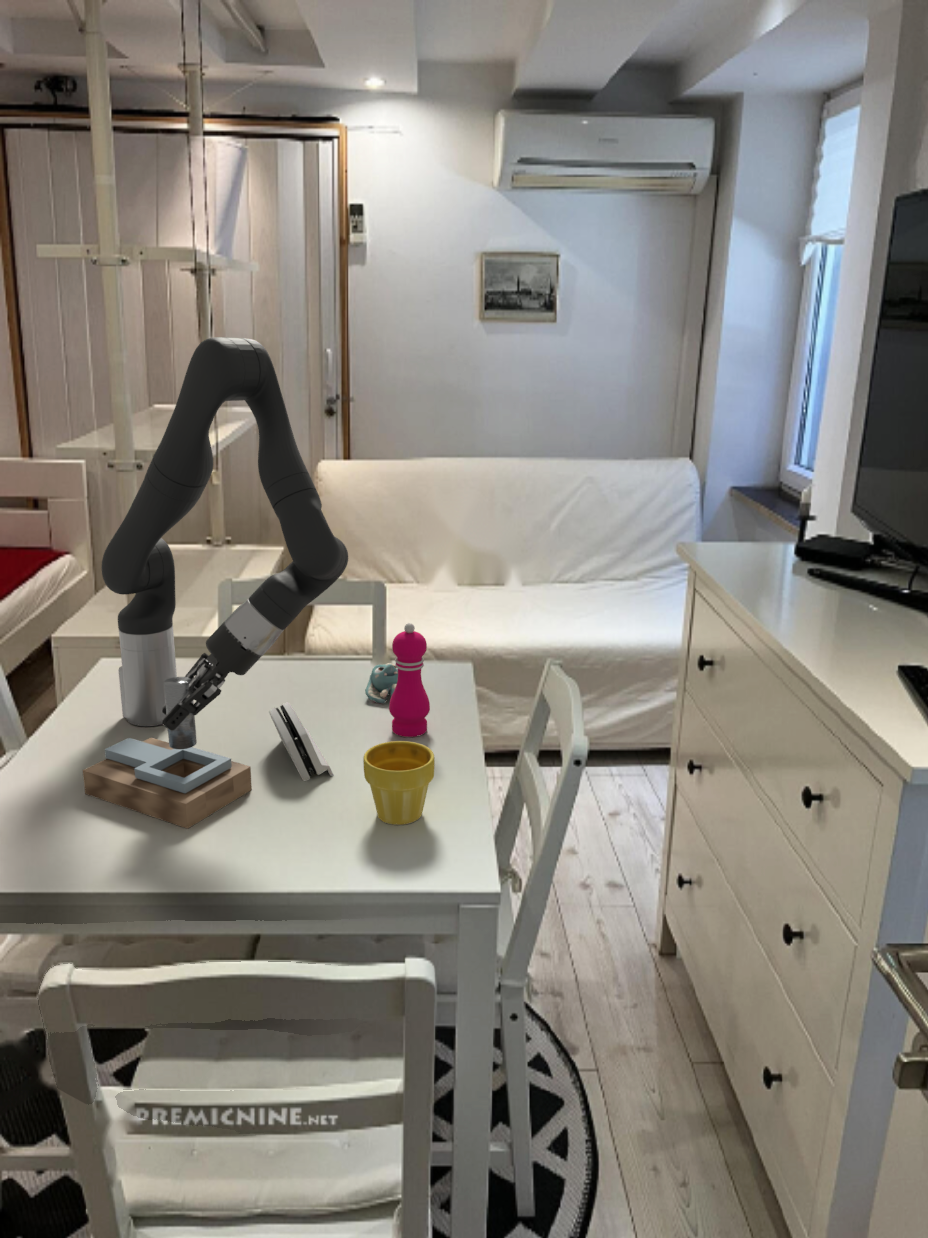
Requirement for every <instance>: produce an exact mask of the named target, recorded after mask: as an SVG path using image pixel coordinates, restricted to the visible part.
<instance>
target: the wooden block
mask: <svg viewBox="0 0 928 1238" xmlns="http://www.w3.org/2000/svg"><path fill="white" fill-rule="evenodd" d="M142 742H145V743H148V744H152V745H155V746H159V747H162V748H165V749H169V750H172V749H173V748H171V747H170V746H169V741H165V740H160V739H158V738H154V737H149V738H146V739H145V740H143V741H142ZM231 764H232V767H231V768H230V769H228V770H226V771H224V772H223V773H221V774H219V775H217V776H215V777H214V778H212V779H210V780H208V781H207V782H205V783H203V784H201V785H199V786H198V787H196V788H194V789H192V790H191V791H189V792H187V793H182V792H179V791H176V790H172V789H169V788H166V787H163V786H160V785H157V784H154V783H151V782H147V781H144V780H141V779H138V778H135V770H134V768H136V767H133V766H129V765H126V764H123V763H120V762H117V761H113V760H110V759H107V758H105V759H103V760H101V761H99V762H97V763H95V764H93V765H91V766H89V767H86V768H84V769H82V778H83V779H82V780H83V786H84V794H85V795H88V796H91V797H94V798H96V799H99V800H102V801H106V802H108V803H110V804H114V805H117V806H120V807H123V808H126V809H128V810H132V811H135V812H137V813H140V814H144V815H146V816H149V817H153V818H156V819H157V820H161V821H164V822H166V823H167V822H168V823H170V824H173V825H175V826H179V827H181V828H185V829H187V830H188V829H190V828H191V827H193V826H194V825H196V824H198V823H199V822H201V821H202V820H204V819H206V818H208V817H209V816H211V815H213V814H214V813H216V812H217V811H220V810H221V809H222V808H224V807H226V806H227V805H229V804H231V803H232V802H234V801H236V800H237V799H239V798H241V797H242V796H244V795H246V794H247V793H249V792H251V791H252V790H253V789H252V787H253V786H252V773H251V772H252V770H251V769H252V768H251V766H250V765H248V764H247V765H246V764H243V763H240V762H236V761H234V760H233V761H232V760H231ZM205 766H206V765H203V764H200V763H196V762H193V761H190V760H186V759H182V760H180V761H178V762H176V763H174V764H172V765H170V766H168V767H166V768H164V769H163V770H161V771H164V772H167V773H170V774H173V775H177V776H180V777H183V778H185V777H186V776H188V775H190V774H192V773H194V772H196V771H198V770H199V769H201V768H203V767H205Z"/></svg>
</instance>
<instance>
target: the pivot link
mask: <svg viewBox="0 0 928 1238" xmlns="http://www.w3.org/2000/svg"><path fill="white" fill-rule="evenodd" d="M104 755H105V759H110V760H113V761H117V762H120V763H123V764H126V765H129V766H133V767H136V768H134V770H135V778H138V779H141V780H144V781H147V782H151V783H154V784H157V785H160V786H163V787H166V788H169V789H172V790H176V791H179V792H182V793H187V792H189V791H191V790H192V789H194V788H196V787H198V786H199V785H201V784H203V783H205V782H207V781H208V780H210V779H212V778H214V777H215V776H217V775H219V774H221V773H223V772H224V771H226V770H228V769H230V768H231V767H232V764H231V761H232V758H231V757H228V756H227V757H226V756H224V755H221V754H218V753H214V752H210V751H206V750H204V749H200V748H197V747H194V746H193V747H191V748H187V749H172V750H169V749H165V748H162V747H159V746H155V745H152V744H148V743H145V742H143V741H141V740H138V739H134V738H132V737H128V738H125V739H124V740H121V741H119V742H117V743H115V744H113V745H110V746H108V747H106V748H104ZM182 759H186V760H190V761H193V762H196V763H200V764H203V765H206V766H205V767H203V768H201V769H199V770H198V771H196V772H194V773H192V774H190V775H188V776H186V777H185V778H183V777H180V776H177V775H173V774H170V773H167V772H164V771H161V770H163V769H164V768H166V767H168V766H170V765H172V764H174V763H176V762H178V761H180V760H182Z"/></svg>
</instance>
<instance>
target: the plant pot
mask: <svg viewBox="0 0 928 1238" xmlns="http://www.w3.org/2000/svg"><path fill="white" fill-rule="evenodd" d="M362 758H363V760H362V761H363V762H362V763H363V774H364V775H363V776H364V778H365V781H366V782H367V784H369V786H370V787H369V788H370V791H371V794H372V799H373V801H374V803H373V804H374V806H375V807H374V808H375V810H376V815H377V817H378V819H379V820H380V821H381V822H383V823H385V824H388V825H394V826H403V825H409V824H412V823H414V822H416V821H418V820H419V819H420V818H421V816H422V815H423V811H424V807H425V803H426V797H427V793H428V789H429V785H430V783H431V782H432V780H433V779H434V777H435V765H436V764H435V761H436V760H435V754H434V751H433V750H432V749H431V748H430V747H428V746H427V745H425V744H422V743H419V742H415V741H407V740H396V741H395V740H393V741H386V742H382V743H377V744H376V745H374V746H371V747H370V748H368V750H366V751H365V753H364V755H363V757H362Z"/></svg>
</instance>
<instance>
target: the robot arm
mask: <svg viewBox="0 0 928 1238" xmlns="http://www.w3.org/2000/svg"><path fill="white" fill-rule="evenodd" d="M179 391H180V392H179V394H178V395H179V396H178V397H177V400H176V404H175V406H174V409H173V412H172V414H171V417H170V419H169V421H168V424H167V426H166V429H165V431H164V434H163V436H162V439H161V440H160V443H159V444H158V446H157V448H156V450H155V452H154V454H153V456H152V459H151V460H150V463H149V466H148V467H147V470H146V472H145V475H144V478H143V479H142V480H143V481H142V482H141V485H140V486H139V488H138V491H137V492H136V495H135V497H134V498H133V501H132V503H131V506H130V508H129V509H128V511H127V513H126V515H125V517H124V518H123V520H122V521H121V523H120V525H119V527H118V528H117V530H116V532H115V533H114V535H113V537H112V538H111V539H110V542H109V543H108V544H107V546H106V548H105V550H104V553H103V556H102V560H101V568H100V569H101V576H102V580H103V582H104V585H106V587H107V588H108V589H109V590H110V591H112V592H114V593H115V594H118V595H121V596H122V595H133V594H134V596H133V598H132V600H131V601H130V602H129V603H127V605H126V606H124V607H123V608H122V609H121V610H120V611H119V613H118V615H117V628H118V636H119V637H118V638H119V648H120V657H121V666H119V667H118V679H119V691H120V700H121V711H122V717H123V718H125V719H126V721H127V722H128V723H129V724H132V725H135V726H139V727H154V726H161V725H163V726H164V727H165V728H167V730H168V729H170V730H175V729H176V728H177V727H178V726H179V725H180V723H181V722H182V721H183V720H184V719H185V718H186V717H187V716H188V715H189V714H193V715H194V716H195V717H196V715H198V714H199V713H200V712H201V711H202V710H203V709H205V708H206V707H207V706H208V705H210V703H211V702H213V701H214V700H215V699H216V698H217V697H219V696H220V695H221V693H222V689H221V688H222V686H223V685H224V684H225V682H226V678H227V676H228V674H231V673H234V674H235V675H238V676H245V675H246V674H247V673H248V671H250V669H252V667H254V665H255V664H256V663H257V662H258V661H259V660H260V659H261V658H262V657H263V655H264V654H266V653H267V651H268V650H270V648H271V647H272V646H273V645H275V643H276V641H277V640H278V639H279V637H280V636H281V634H282V633H283V632H284V630H285V629H287V628H288V626H289V625H290V624H292V622H293V621H294V620H296V618H298V616H299V615H300V613H301V612H302V611H303V610H304V609H305V608H306V607H307V606H308V605H310V603H311V602H313V601H314V600H316V598H318V597H319V596H321V595H322V594H323V593H324V592H325V591H326V590H328V589H330V587H331V586H333V584H335V582H337V580H339V578H340V577H341V575H343V573H344V572H345V570H346V568H347V566H348V562H349V553H348V552H349V551H348V548H347V546H346V545H345V543H344V542H343V541H342V540H341V539H339V538H338V537H337V536H335V535H334V534H333V531H332V530H331V528H330V526H329V524H328V522H327V519H326V517H325V515H324V513H323V511H322V507H323V505H322V500H321V497H320V495H319V493H318V490H317V488H316V486H315V483H314V481H313V479H312V477H311V475H310V473H309V471H308V469H307V467H306V464H305V462H304V460H303V458H302V455H301V453H300V451H299V448H298V446H297V441H296V439H295V436H294V433H293V429H292V426H291V422H290V418H289V415H288V411H287V407H286V405H285V404H286V403H285V401H284V398H283V394H282V389H281V387H280V383H279V379H278V376H277V373H276V370H275V367H274V364H273V361H272V358H271V356H270V355H269V353H268V351H267V349H266V347H265V346H264V345H262V343H261V342H259V341H257V340H256V339H251V338H248V337H247V338H245V337H224V336H222V337H221V336H217V337H208V338H206V339H204V340H203V341H201V342H200V343H199V344H198V346H197V347H196V348H195V349H194V351H193V353H192V356H191V358H190V361H189V363H188V366H187V369H186V371H185V375H184V379H183V382H182V385H181V388H180V390H179ZM230 401H231V402H235V401H236V402H237V401H241V402H242V401H245V404H247V406H248V408H249V409H250V411H251V413H252V414H253V417H254V418H255V423H256V426H257V430H258V454H257V455H258V457H257V467H258V474H259V480H260V482H261V485H262V487H263V490H264V492H265V495H266V496H267V499H268V501H269V503H270V506H271V507H272V509H273V512H274V513H275V515H276V517H277V519H278V521H279V524H280V527H281V531H282V535H283V538H284V542H285V545H286V547H287V550H288V553H289V555H290V557H291V560H292V562H291V563H289V564H288V565H287V566H286V567H285V568H284V569H283V570H282V571H280V572H278V573H275V574H271V575H270V576H268V578H266V579H264V581H263V582H262V583H261V584H260V585H259V586H258V587H257V588H256V589H255V590H254V592H253V593H251V594H250V596H249V597H248V598H247V599H246V600H245V601H244V602H243V603H241V604H239V606H238V607H236V608H235V610H234V611H232V613H230V615H229V616H228V617H227V618H226V619H225V620H224V621H223V622H222V623H221V624H220V625H219V626H218V628H216V630H215V631H214V632H213V633H212V634H211V635H210V636H209V637H208V638H207V639H206V641H205V646H206V649H207V650H208V652H209V653H210V654H207V652H203V653H201V655H200V657H199V658H198V659H197V661H196V662H195V663H194V664H193V666H192V667H191V668H190V669H189V670H188V672H187V673H186V674H185V676H184V677H188V678H190V679H192V681H191V682H190V684H189V685H188V686H187V688H186V689H187V693H186V694H185V695H184V696H183V697H182V699H180V700H179V703H178V704H177V705H176V706H175V707H174V708H173V709H172V710H171V711H170V712H169V713H168V714H167V715H166V703H165V692H164V681H165V680H167V679H169V678H173V677H178V676H177V673H178V672H177V662H176V661H177V660H176V650H175V635H174V625H173V624H174V623H173V618H174V614H175V610H176V603H177V602H176V566H175V560H174V556H173V552H172V550H171V548H170V545H169V544H168V543H167V541H165V539H163V536H165V534H167V533H168V532H169V531H170V530H171V529H172V528H173V527H174V526H176V525H177V524H178V523H179V522H180V521H181V520H182V519H183V518H185V516H186V515H187V514H188V513H189V512H190V511H192V509H193V508H194V507H195V505H197V503H198V501H199V500H200V499H201V496H202V495H203V494H204V493H203V492H204V491H205V488H206V487H207V485H208V483H209V481H210V479H211V476H212V473H213V469H214V457H213V454H214V453H213V450H212V449H213V448H212V445H211V440H210V434H209V433H210V428H211V425H212V423H213V422H214V419H215V416H216V414H217V412H218V411H219V410H220V408H221V406H222V405H223V404H224V403H225V402H230ZM192 701H195V702H194V704H193V703H191V702H192Z"/></svg>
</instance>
